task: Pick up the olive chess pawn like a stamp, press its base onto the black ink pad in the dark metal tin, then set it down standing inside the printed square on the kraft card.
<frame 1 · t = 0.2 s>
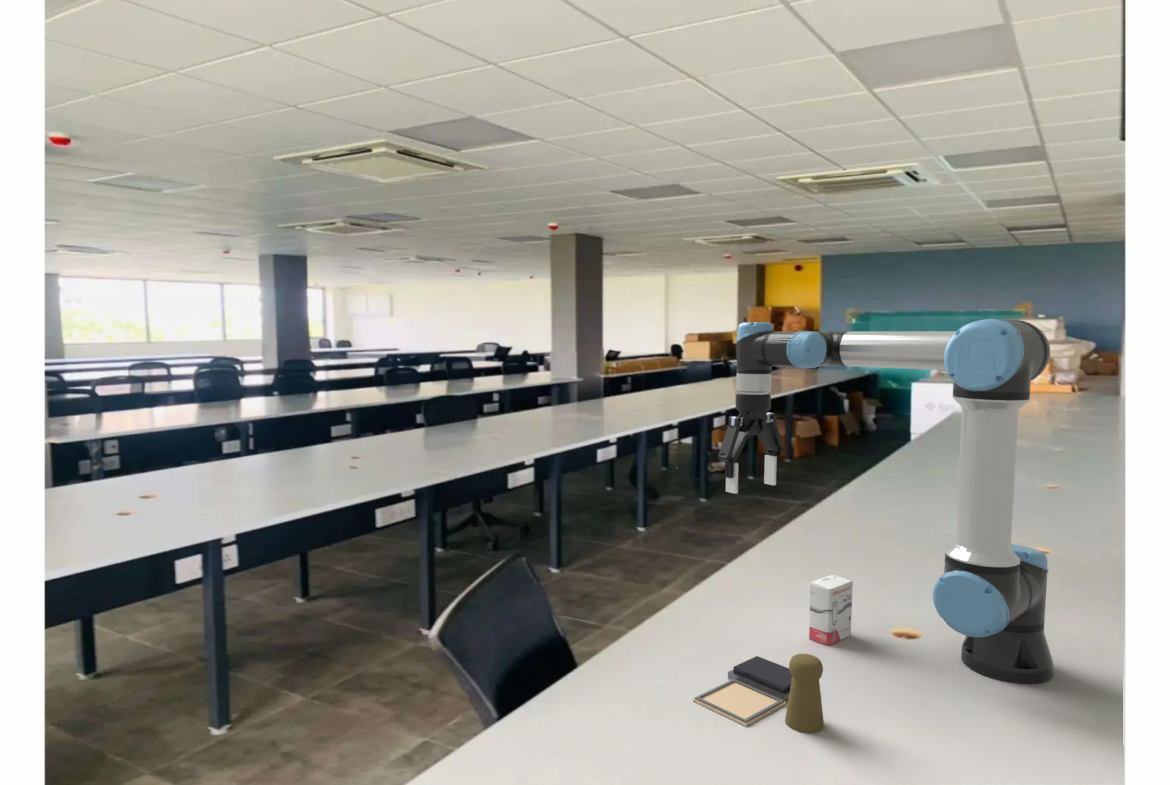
hand: (751, 488, 169), 28 cm above the table, fingers open, 13 cm apart
ink box: (829, 638, 157), on the table
ink pad: (769, 682, 136), on the table
print card: (739, 702, 129), on the table
olive chess pawn: (804, 724, 123), on the table
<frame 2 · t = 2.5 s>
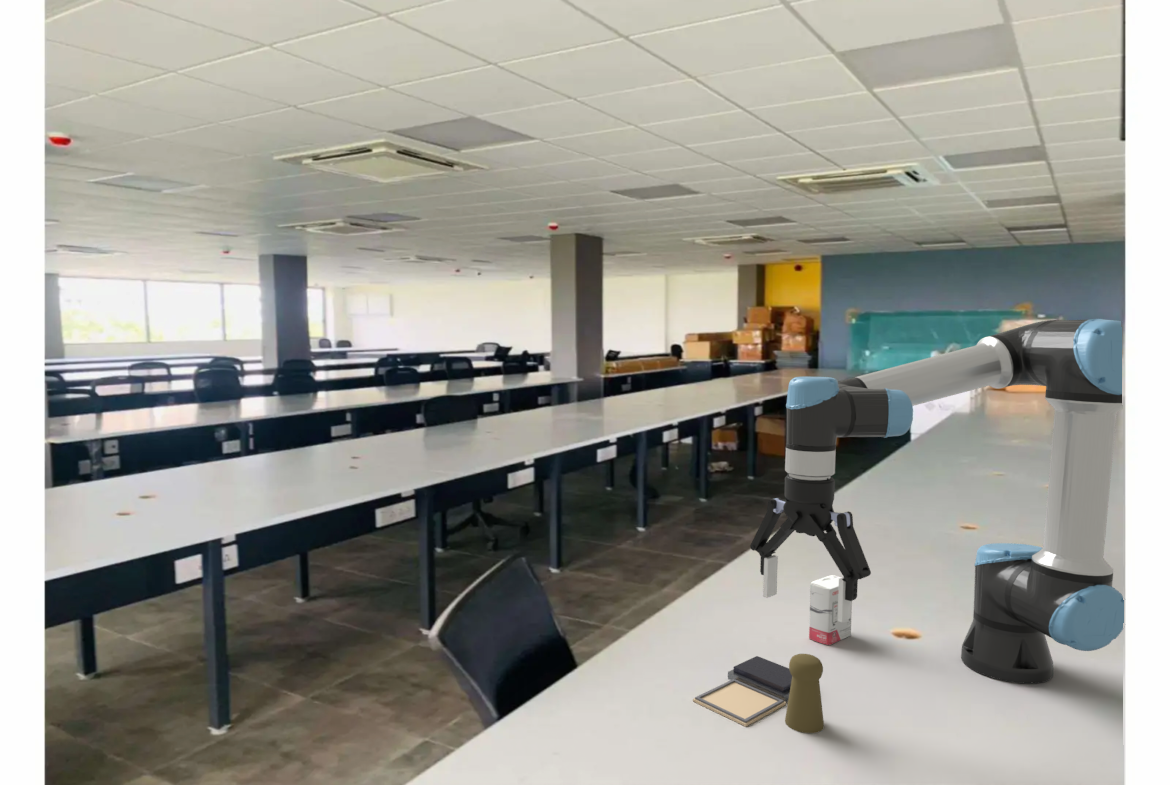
hand: (805, 607, 122), 19 cm above the table, fingers open, 13 cm apart
nothing on the table moved.
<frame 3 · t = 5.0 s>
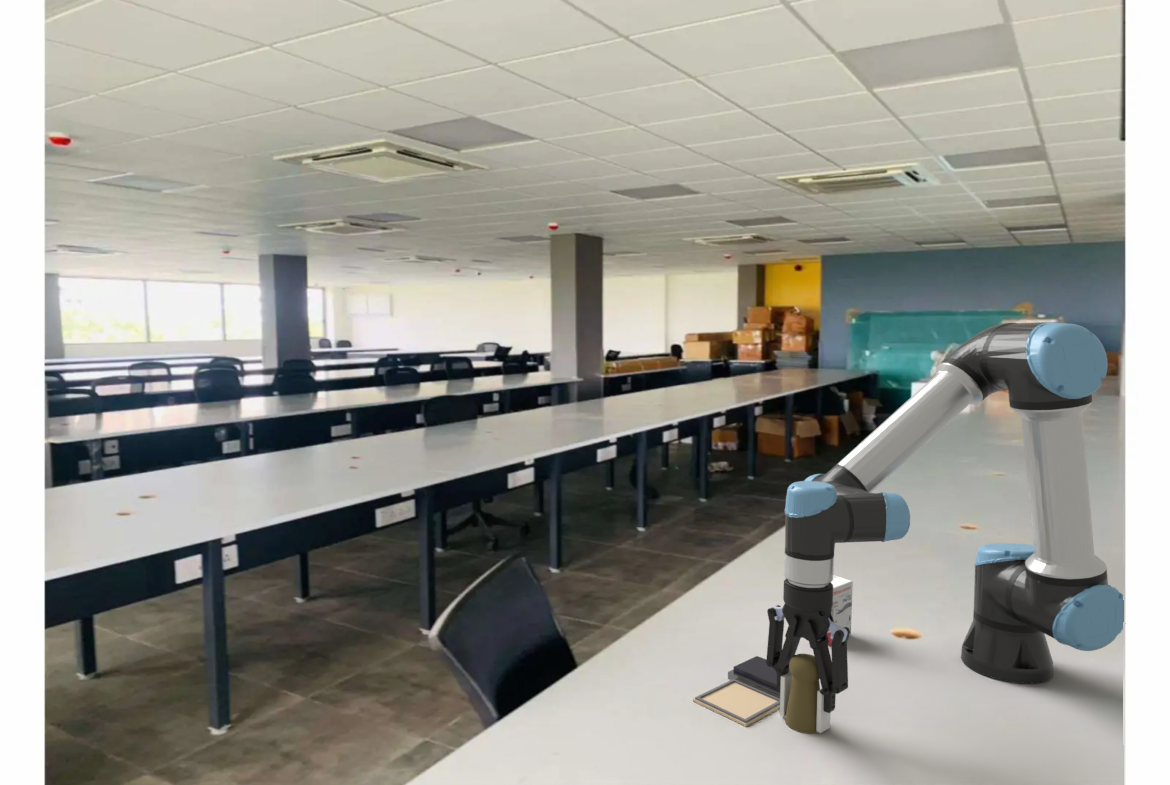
hand: (804, 720, 123), 0 cm above the table, fingers closed on olive chess pawn, 6 cm apart
olive chess pawn: (804, 724, 123), on the table, touching gripper
everything else where it was.
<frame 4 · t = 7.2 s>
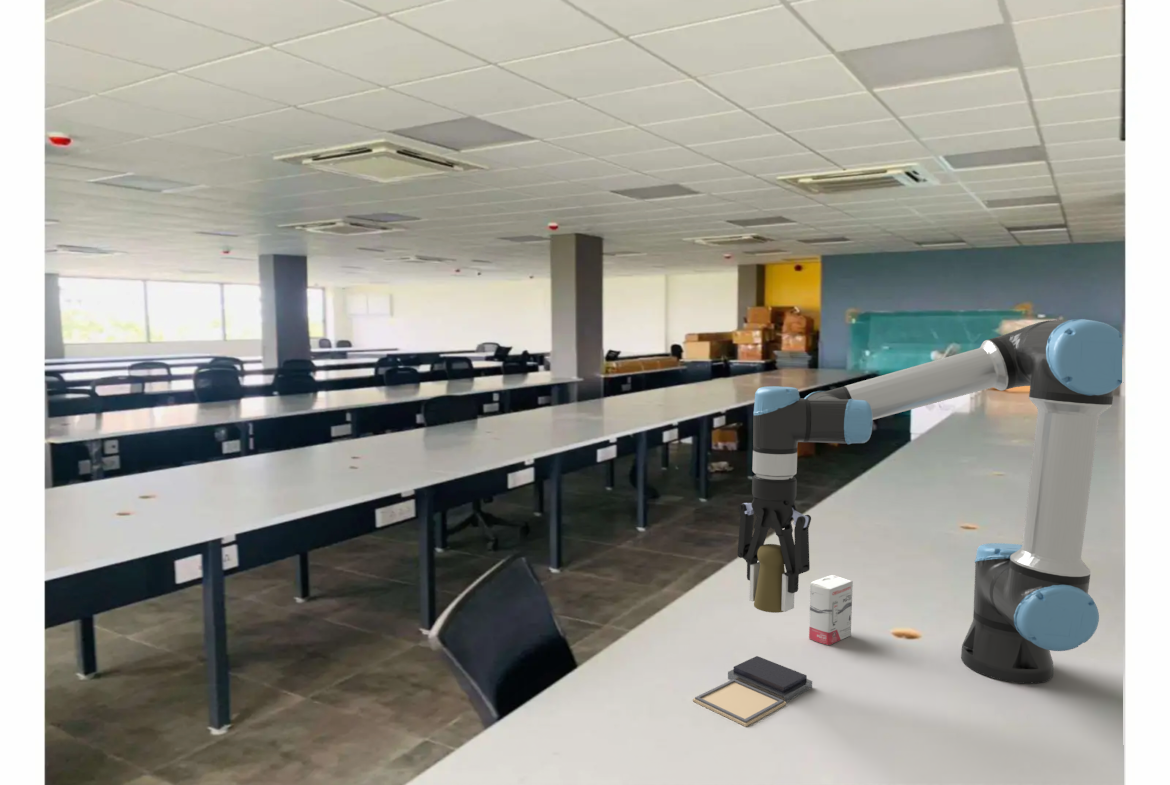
hand: (771, 603, 135), 15 cm above the table, fingers closed on olive chess pawn, 6 cm apart
olive chess pawn: (771, 607, 135), point 14 cm above the table, touching gripper
everything else where it was.
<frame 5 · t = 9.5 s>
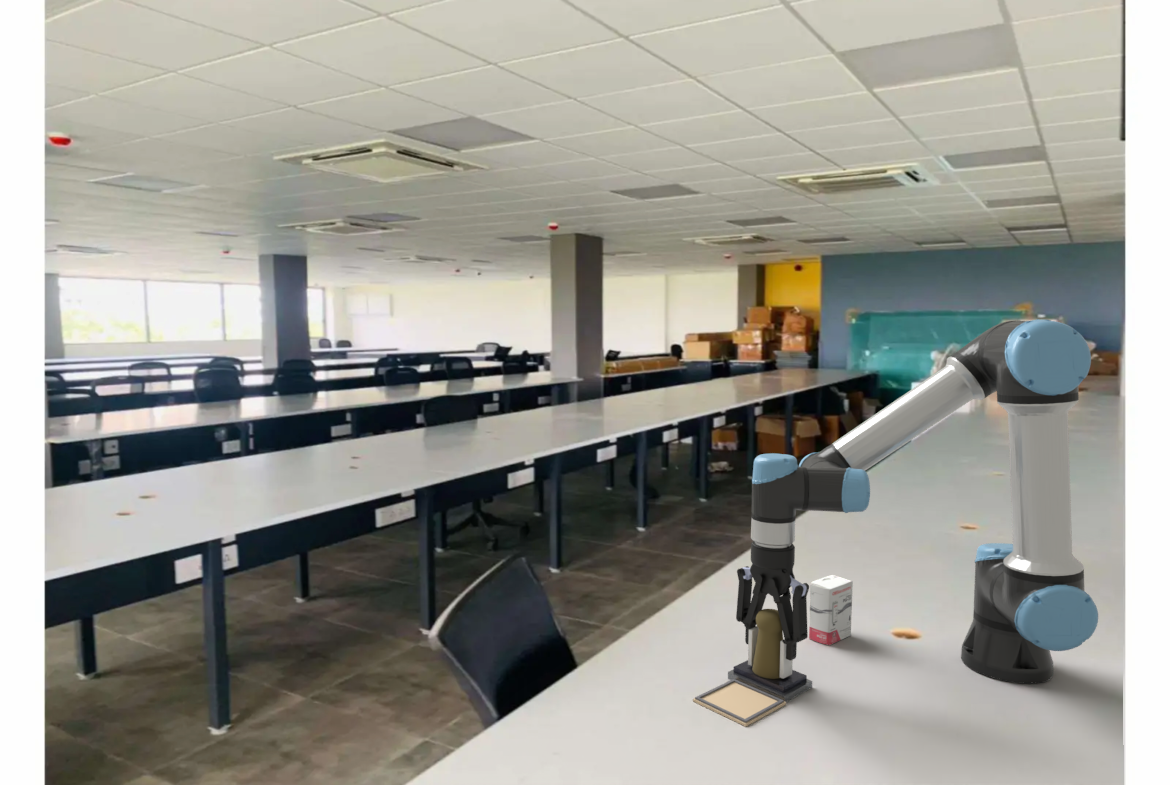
hand: (769, 669, 136), 3 cm above the table, fingers closed on olive chess pawn, 6 cm apart
olive chess pawn: (769, 672, 136), point 2 cm above the table, touching gripper, ink pad
everything else where it was.
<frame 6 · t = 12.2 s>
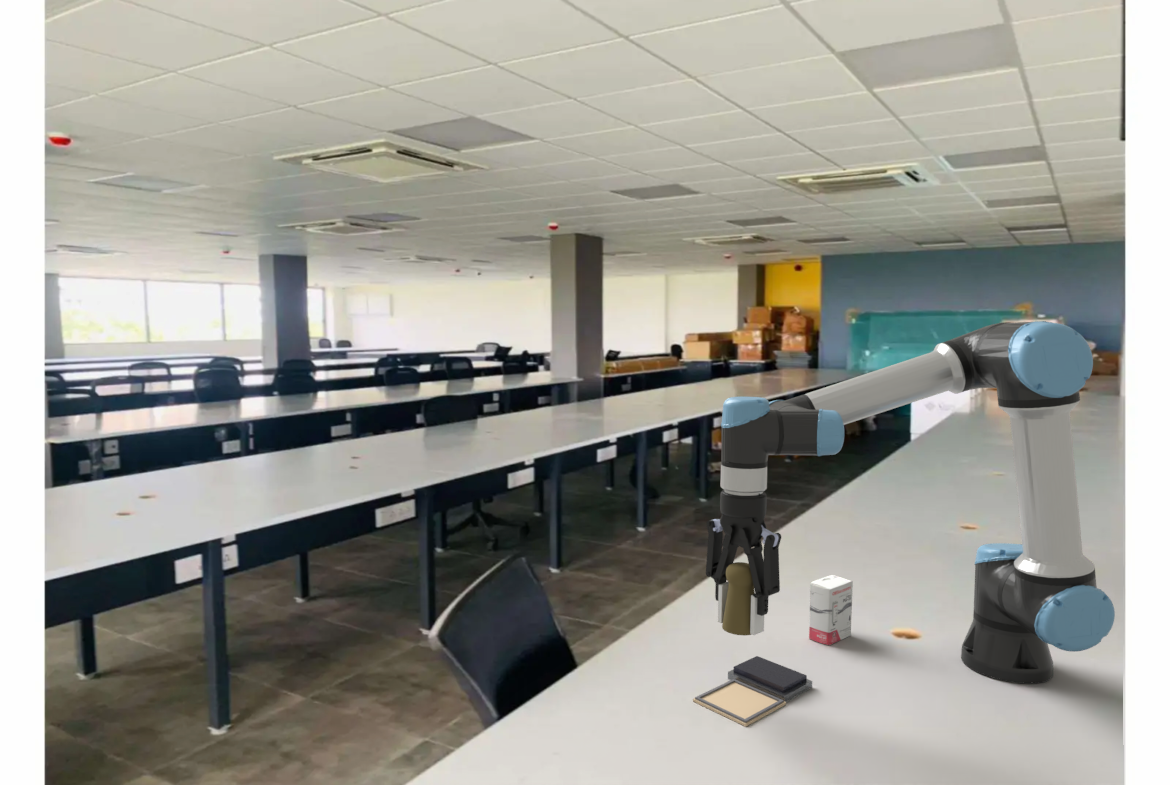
hand: (740, 626, 128), 13 cm above the table, fingers closed on olive chess pawn, 6 cm apart
olive chess pawn: (740, 629, 128), point 13 cm above the table, touching gripper
everything else where it was.
when the fingers open (2 cm above the table, at t = 14.4 s): olive chess pawn drops 1 cm, resting on print card.
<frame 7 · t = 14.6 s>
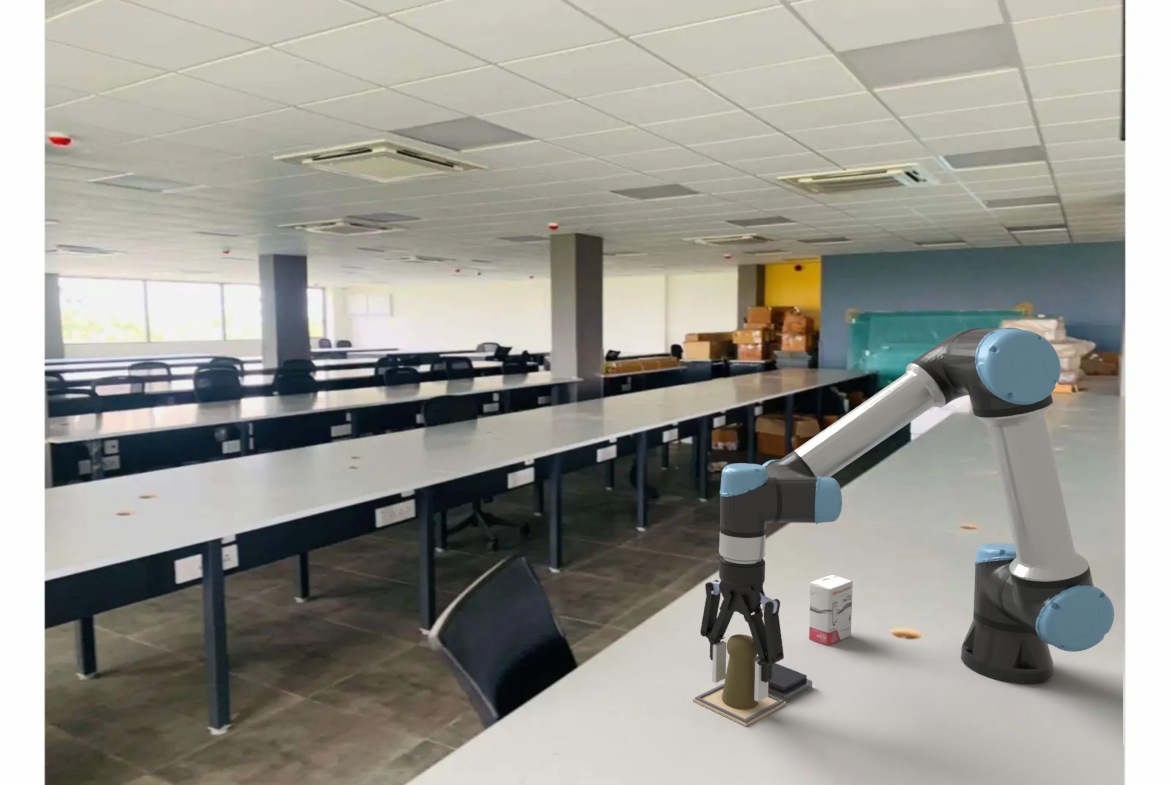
hand: (739, 688, 129), 2 cm above the table, fingers open, 8 cm apart
olive chess pawn: (739, 701, 129), resting on print card
everything else where it was.
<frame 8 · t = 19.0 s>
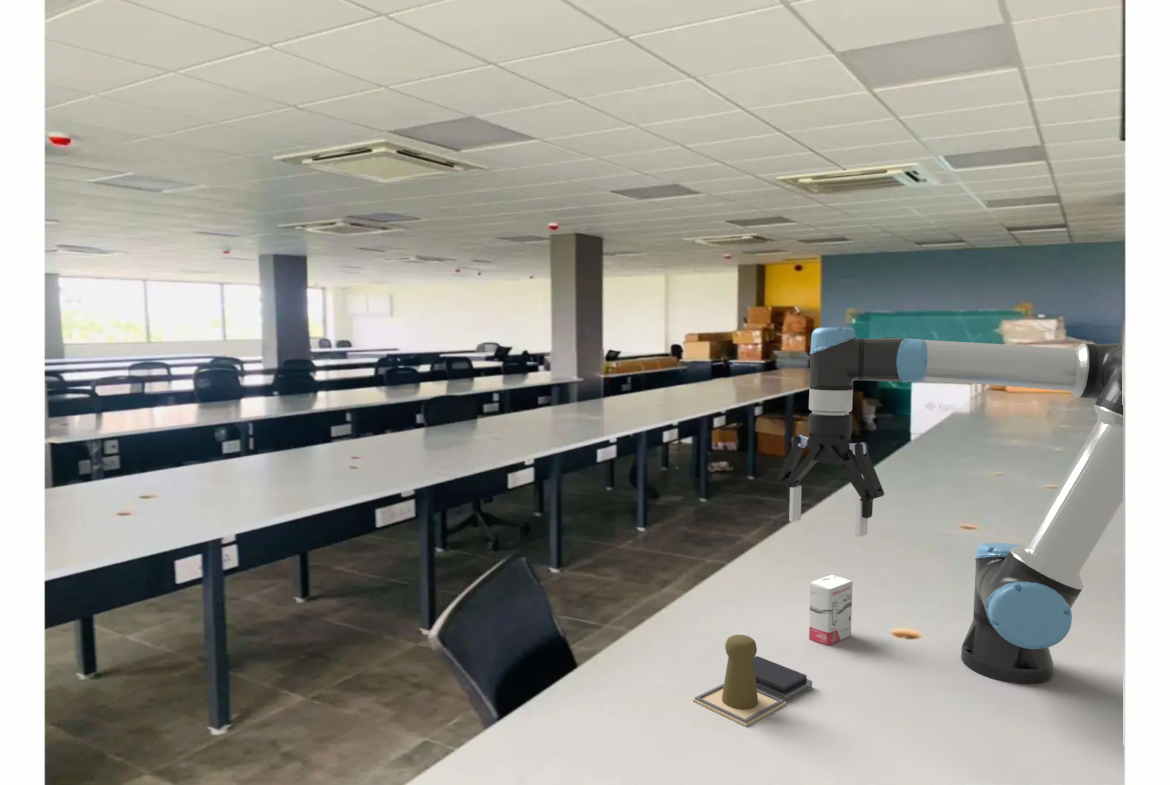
hand: (826, 527, 140), 27 cm above the table, fingers open, 13 cm apart
nothing on the table moved.
at the end: olive chess pawn inside the target area on the print card (0.1 cm from its centre), point 0.2 cm above the print card's base; olive chess pawn tilted 0°; the gripper is holding nothing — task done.
